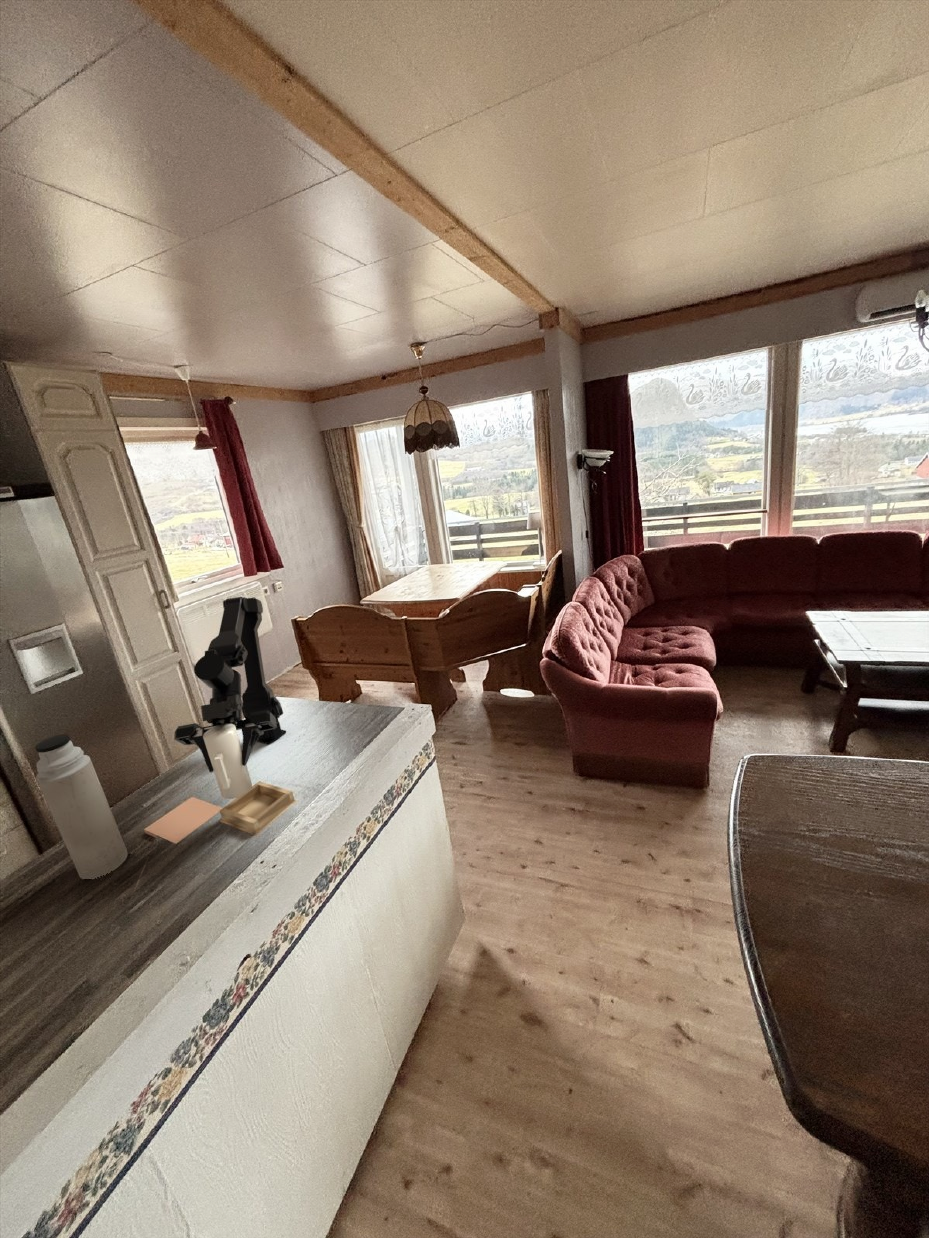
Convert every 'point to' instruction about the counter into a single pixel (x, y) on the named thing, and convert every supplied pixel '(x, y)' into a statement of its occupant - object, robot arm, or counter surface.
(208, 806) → the tile
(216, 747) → the jug
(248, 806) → the holder
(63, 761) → the thermos bottle
